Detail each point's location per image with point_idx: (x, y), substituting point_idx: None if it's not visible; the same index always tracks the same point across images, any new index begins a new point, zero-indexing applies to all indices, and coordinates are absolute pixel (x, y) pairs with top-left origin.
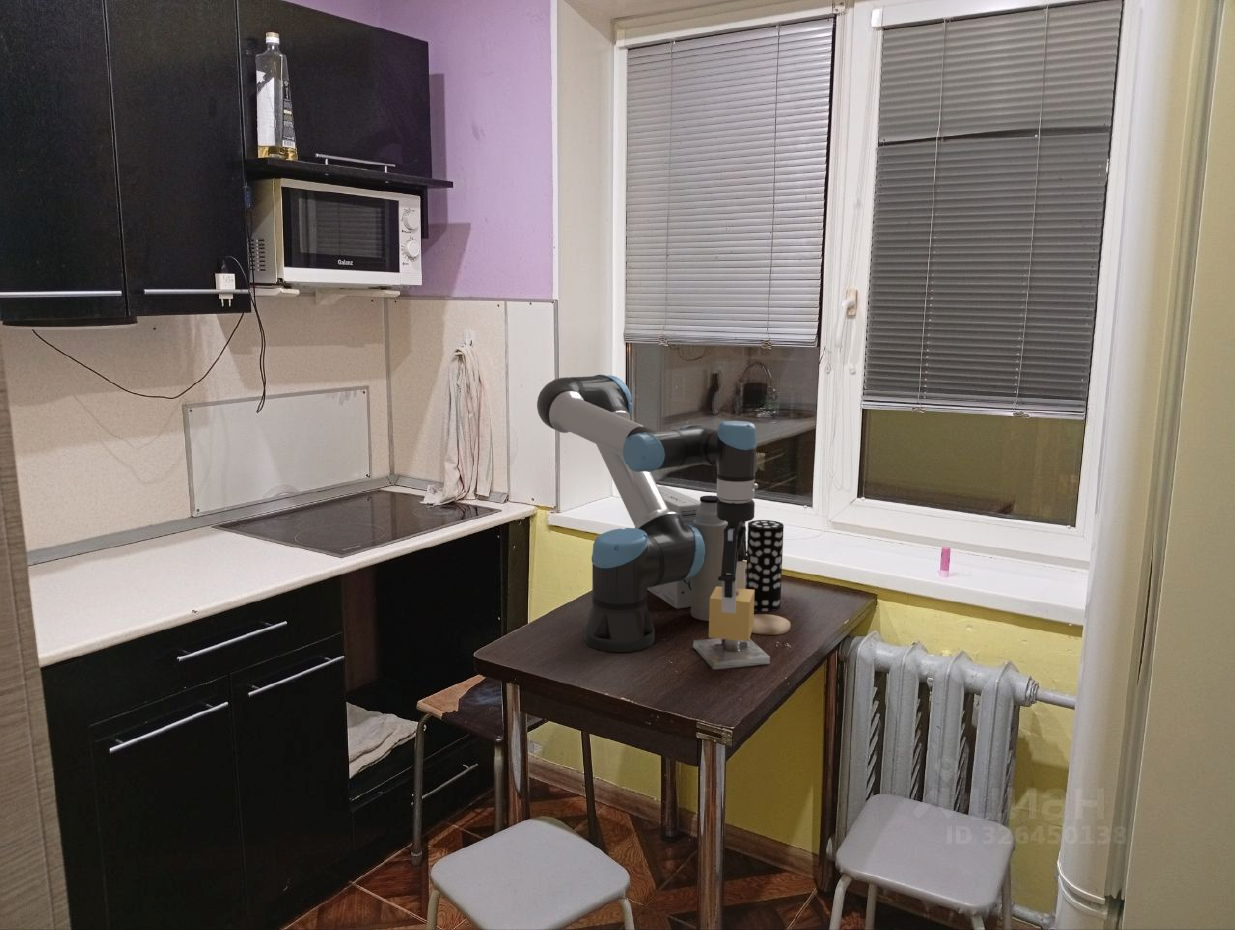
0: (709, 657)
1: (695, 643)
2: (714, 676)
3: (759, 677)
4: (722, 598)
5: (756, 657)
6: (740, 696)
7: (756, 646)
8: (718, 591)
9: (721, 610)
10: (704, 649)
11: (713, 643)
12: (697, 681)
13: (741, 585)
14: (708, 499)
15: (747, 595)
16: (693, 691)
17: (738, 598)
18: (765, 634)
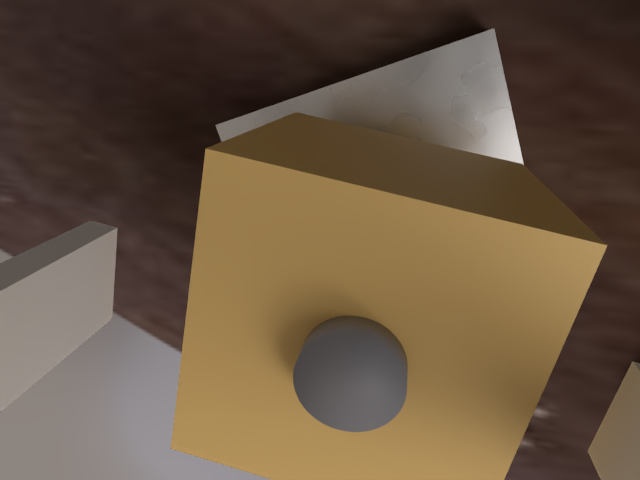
0: (268, 107)
1: (460, 40)
2: (163, 120)
3: (184, 286)
4: (8, 265)
5: None
6: (22, 202)
7: None
8: (428, 251)
9: (83, 224)
10: (365, 87)
11: (448, 138)
12: (104, 46)
13: (620, 476)
14: None
15: (325, 465)
16: (14, 28)
17: (240, 389)
18: None
